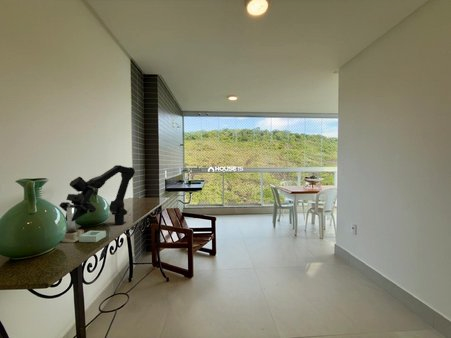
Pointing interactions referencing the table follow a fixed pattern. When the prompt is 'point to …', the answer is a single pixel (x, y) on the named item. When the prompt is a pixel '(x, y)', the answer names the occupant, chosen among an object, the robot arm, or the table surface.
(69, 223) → the axle
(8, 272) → the table surface
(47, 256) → the table surface
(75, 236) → the brown square frame
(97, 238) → the socket block
